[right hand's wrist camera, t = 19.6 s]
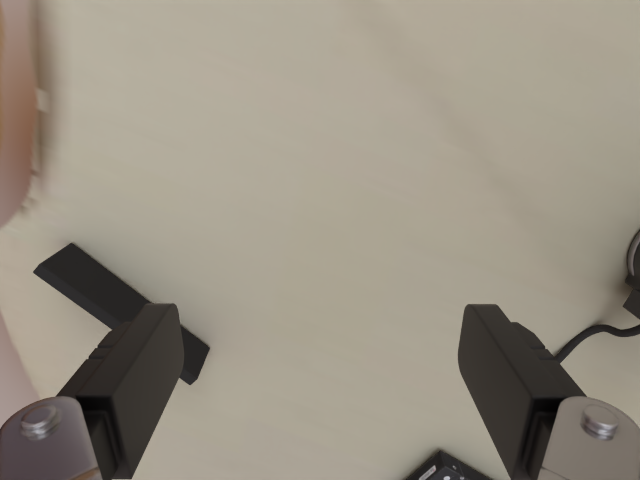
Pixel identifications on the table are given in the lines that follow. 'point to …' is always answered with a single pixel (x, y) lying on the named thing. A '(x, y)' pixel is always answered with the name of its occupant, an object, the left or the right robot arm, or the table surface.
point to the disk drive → (446, 470)
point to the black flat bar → (109, 299)
